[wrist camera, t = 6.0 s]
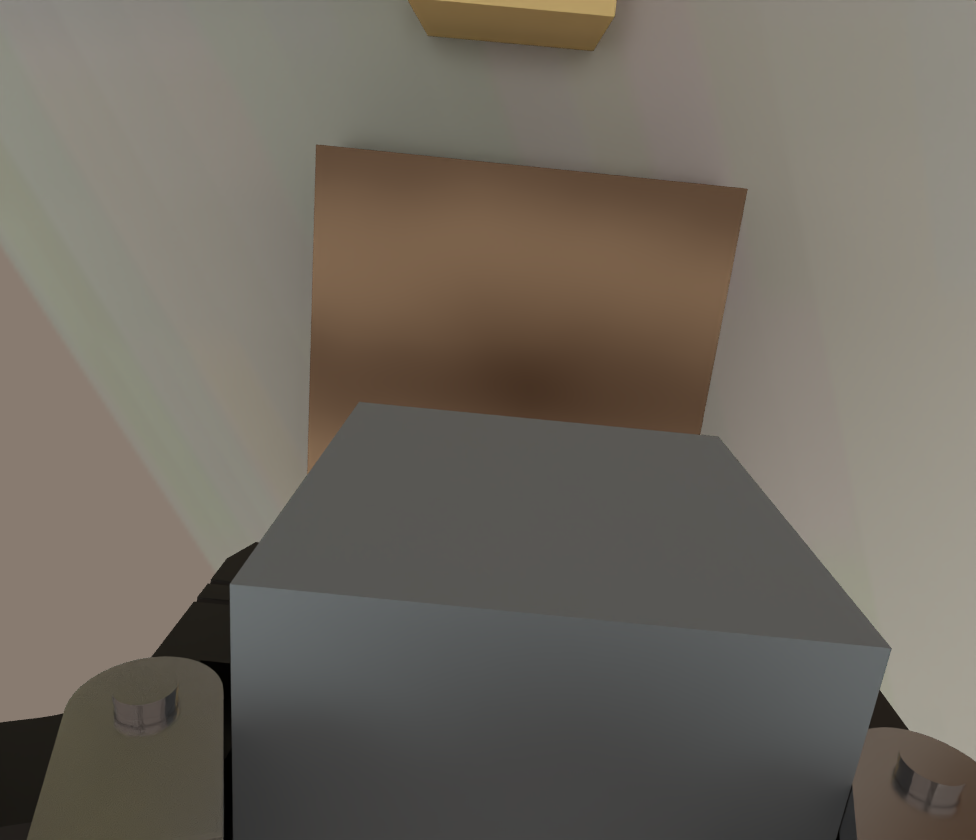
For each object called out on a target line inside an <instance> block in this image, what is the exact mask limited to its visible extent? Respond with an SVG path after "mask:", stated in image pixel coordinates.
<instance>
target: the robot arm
mask: <svg viewBox="0 0 976 840" xmlns="http://www.w3.org/2000/svg"><path fill="white" fill-rule="evenodd" d="M258 544H259V543H258V542H255V543H253V544H252V545H250V546H248V547H246V548H245V549H243V550H241V551H239V552H238V553H236V554H234V555H232V556H231V557H229V558H227V559H226V561H225V562H224V563H223V564H222V566H221V567H220V568H219V570H218V571H217V572H216V574H215V575H214V576H213V577H212V579H211V583H210V584H207V585H206V587H205V588H204V589H203V591H202V592H201V593H200V594H199V596H198V597H197V602H193V604H192V605H191V606H190V607H189V609H188V610H187V611H186V613H185V614H184V615H183V617H182V618H181V619H180V620H179V622H178V623H177V624H176V626H175V627H174V628H173V630H172V631H171V632H170V634H169V635H168V636H167V637H166V639H165V640H164V641H163V643H162V644H161V646H160V647H159V648H158V649H157V650H156V652H155V653H154V654H153V656H152V657H150V658H143V659H138V660H134V661H130V662H126V663H123V664H120V665H117V666H114V667H112V668H110V669H108V670H106V671H103V672H101V673H100V674H98V675H96V676H95V677H93V678H91V679H90V680H89V681H87V682H86V683H85V684H83V685H82V686H81V687H80V688H79V689H78V690H77V691H76V692H75V693H74V694H73V696H72V697H71V698H70V700H69V701H68V703H67V705H66V708H65V710H64V713H63V714H59V715H54V716H48V717H42V718H34V719H26V720H17V721H9V722H2V723H0V840H233V795H232V718H231V640H230V583H231V582H232V580H233V579H234V577H235V576H236V575H237V573H238V572H239V570H240V569H241V568H242V566H243V565H244V563H245V562H246V560H247V559H248V558H249V556H250V555H251V553H252V552H253V551H254V549H255V548H256V546H257V545H258ZM836 840H976V761H974V760H973V759H972V758H970V757H969V756H967V755H965V754H964V753H962V752H960V751H959V750H957V749H955V748H953V747H951V746H949V745H948V744H946V743H944V742H941V741H939V740H937V739H934V738H932V737H929V736H926V735H923V734H920V733H917V732H913V731H909V730H908V728H907V727H906V725H905V724H904V723H903V721H902V720H901V719H900V717H899V716H898V714H897V713H896V712H895V710H894V709H893V708H892V706H891V705H890V703H889V702H888V701H887V699H886V698H885V697H884V695H883V694H882V693H881V691H880V690H879V693H878V697H877V700H876V704H875V707H874V710H873V714H872V717H871V721H870V724H869V728H868V731H867V734H866V738H865V741H864V745H863V748H862V752H861V755H860V758H859V762H858V765H857V769H856V772H855V776H854V779H853V782H852V786H851V789H850V793H849V796H848V800H847V803H846V806H845V810H844V813H843V817H842V820H841V823H840V827H839V830H838V834H837V837H836Z"/></svg>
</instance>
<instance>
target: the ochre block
mask: <svg viewBox="0 0 976 840" xmlns="http://www.w3.org/2000/svg"><path fill="white" fill-rule="evenodd" d="M408 1H409V3H410V5H411V7H412V9H413V10H414V12H415V14H416V16H417V17H418V19H419V21H420V23H421V24H422V26H423V28H424V30H425V32H426V33H427V35H428V36H436V37H447V38H458V39H468V40H479V41H490V42H501V43H512V44H523V45H534V46H544V47H555V48H566V49H577V50H588V51H593V50H594V49H595V47H596V46H597V44H598V42H599V41H600V39H601V38H602V36H603V34H604V33H605V31H606V30H607V28H608V26H609V25H610V23H611V22H612V20H613V18H614V17H615V9H616V1H617V0H408Z"/></svg>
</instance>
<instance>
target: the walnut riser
mask: <svg viewBox="0 0 976 840" xmlns="http://www.w3.org/2000/svg"><path fill="white" fill-rule="evenodd" d="M746 194H747V189H745V188H735V187H725V186H715V185H706V184H696V183H686V182H676V181H666V180H657V179H647V178H637V177H627V176H618V175H608V174H598V173H588V172H579V171H569V170H559V169H549V168H540V167H530V166H520V165H510V164H501V163H491V162H481V161H471V160H462V159H452V158H442V157H432V156H423V155H413V154H403V153H393V152H384V151H374V150H364V149H354V148H345V147H335V146H325V145H316V168H315V206H314V243H313V281H312V318H311V356H310V393H309V431H308V468H307V475H308V473H309V472H310V470H311V469H312V468H313V466H314V465H315V463H316V462H317V460H318V459H319V458H320V456H321V455H322V453H323V452H324V451H325V449H326V448H327V446H328V445H329V444H330V442H331V441H332V439H333V438H334V437H335V435H336V434H337V432H338V431H339V430H340V428H341V427H342V425H343V424H344V422H345V421H346V420H347V418H348V417H349V415H350V414H351V413H352V411H353V410H354V408H355V407H356V406H357V404H358V403H359V402H364V403H375V404H385V405H395V406H406V407H416V408H427V409H437V410H447V411H458V412H468V413H478V414H489V415H499V416H509V417H520V418H530V419H540V420H551V421H561V422H572V423H582V424H592V425H603V426H613V427H623V428H634V429H644V430H654V431H665V432H675V433H685V434H696V435H700V432H701V427H702V422H703V417H704V411H705V406H706V401H707V396H708V391H709V386H710V380H711V375H712V370H713V365H714V360H715V355H716V349H717V344H718V339H719V334H720V329H721V324H722V318H723V313H724V308H725V303H726V298H727V293H728V287H729V282H730V277H731V272H732V267H733V262H734V256H735V251H736V246H737V241H738V236H739V231H740V225H741V220H742V215H743V210H744V205H745V200H746Z"/></svg>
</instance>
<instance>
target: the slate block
mask: <svg viewBox="0 0 976 840" xmlns="http://www.w3.org/2000/svg"><path fill="white" fill-rule="evenodd" d="M230 640H231V718H232V795H233V840H836V837H837V834H838V830H839V827H840V823H841V820H842V817H843V813H844V810H845V806H846V803H847V800H848V796H849V793H850V789H851V786H852V782H853V779H854V776H855V772H856V769H857V765H858V762H859V758H860V755H861V752H862V748H863V745H864V741H865V738H866V734H867V731H868V728H869V724H870V721H871V717H872V714H873V710H874V707H875V704H876V700H877V697H878V693H879V690H880V686H881V683H882V680H883V676H884V673H885V669H886V666H887V662H888V659H889V656H890V652H891V649H892V648H891V647H890V646H889V645H888V643H887V642H886V641H885V640H884V639H883V637H882V636H881V635H880V634H879V632H878V631H877V630H876V629H875V628H874V626H873V625H872V624H871V623H870V621H869V620H868V619H867V618H866V617H865V615H864V614H863V613H862V612H861V610H860V609H859V608H858V607H857V606H856V604H855V603H854V602H853V601H852V599H851V598H850V597H849V596H848V595H847V593H846V592H845V591H844V590H843V588H842V587H841V586H840V585H839V584H838V582H837V581H836V580H835V579H834V577H833V576H832V575H831V574H830V573H829V571H828V570H827V569H826V568H825V566H824V565H823V564H822V563H821V562H820V560H819V559H818V558H817V557H816V555H815V554H814V553H813V552H812V551H811V549H810V548H809V547H808V546H807V544H806V543H805V542H804V541H803V540H802V538H801V537H800V536H799V535H798V533H797V532H796V531H795V530H794V529H793V527H792V526H791V525H790V524H789V522H788V521H787V520H786V519H785V518H784V516H783V515H782V514H781V513H780V511H779V510H778V509H777V508H776V507H775V505H774V504H773V503H772V502H771V500H770V499H769V498H768V497H767V496H766V494H765V493H764V492H763V491H762V489H761V488H760V487H759V486H758V485H757V483H756V482H755V481H754V480H753V478H752V477H751V476H750V475H749V474H748V472H747V471H746V470H745V469H744V467H743V466H742V465H741V464H740V463H739V461H738V460H737V459H736V458H735V456H734V455H733V454H732V453H731V452H730V450H729V449H728V448H727V447H726V445H725V444H724V443H723V442H722V441H721V439H720V438H719V437H717V436H706V435H696V434H685V433H675V432H665V431H654V430H644V429H634V428H623V427H613V426H603V425H592V424H582V423H572V422H561V421H551V420H540V419H530V418H520V417H509V416H499V415H489V414H478V413H468V412H458V411H447V410H437V409H427V408H416V407H406V406H395V405H385V404H375V403H364V402H359V403H358V404H357V406H356V407H355V408H354V410H353V411H352V413H351V414H350V415H349V417H348V418H347V420H346V421H345V422H344V424H343V425H342V427H341V428H340V430H339V431H338V432H337V434H336V435H335V437H334V438H333V439H332V441H331V442H330V444H329V445H328V446H327V448H326V449H325V451H324V452H323V453H322V455H321V456H320V458H319V459H318V460H317V462H316V463H315V465H314V466H313V468H312V469H311V470H310V472H309V473H308V475H307V476H306V477H305V479H304V480H303V482H302V483H301V484H300V486H299V487H298V489H297V490H296V491H295V493H294V494H293V496H292V497H291V499H290V500H289V501H288V503H287V504H286V506H285V507H284V508H283V510H282V511H281V513H280V514H279V515H278V517H277V518H276V520H275V521H274V522H273V524H272V525H271V527H270V528H269V529H268V531H267V532H266V534H265V535H264V537H263V538H262V539H261V541H260V542H259V544H258V545H257V546H256V548H255V549H254V551H253V552H252V553H251V555H250V556H249V558H248V559H247V560H246V562H245V563H244V565H243V566H242V568H241V569H240V570H239V572H238V573H237V575H236V576H235V577H234V579H233V580H232V582H231V583H230Z"/></svg>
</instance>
